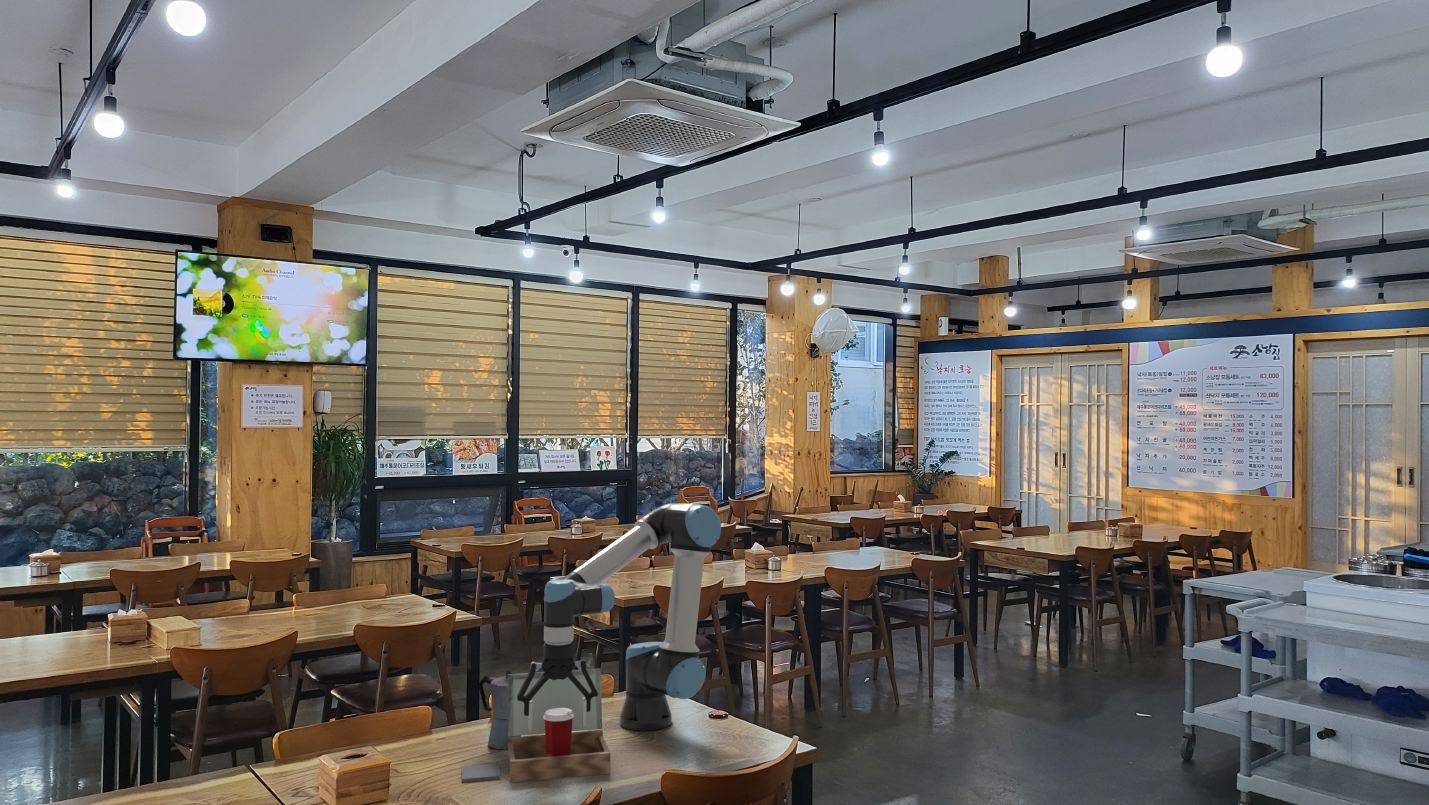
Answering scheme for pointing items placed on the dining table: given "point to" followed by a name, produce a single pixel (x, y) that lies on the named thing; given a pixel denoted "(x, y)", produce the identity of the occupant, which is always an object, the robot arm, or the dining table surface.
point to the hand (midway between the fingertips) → (557, 726)
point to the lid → (553, 702)
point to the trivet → (480, 772)
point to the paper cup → (558, 731)
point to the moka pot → (497, 710)
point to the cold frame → (557, 757)
